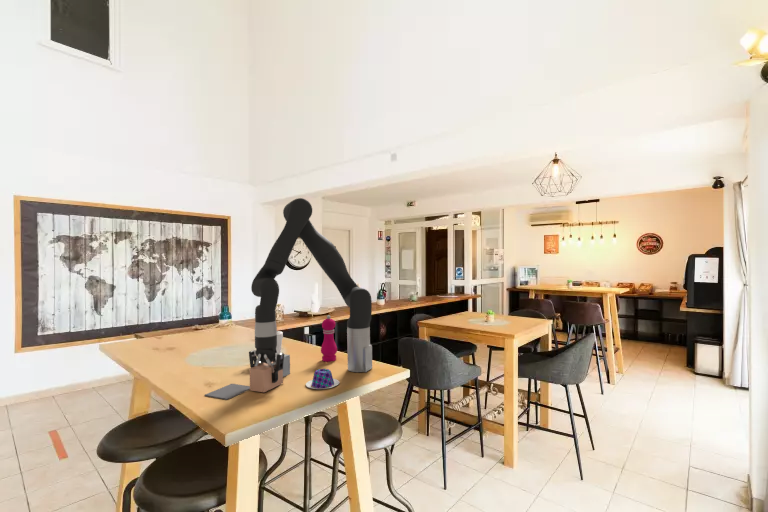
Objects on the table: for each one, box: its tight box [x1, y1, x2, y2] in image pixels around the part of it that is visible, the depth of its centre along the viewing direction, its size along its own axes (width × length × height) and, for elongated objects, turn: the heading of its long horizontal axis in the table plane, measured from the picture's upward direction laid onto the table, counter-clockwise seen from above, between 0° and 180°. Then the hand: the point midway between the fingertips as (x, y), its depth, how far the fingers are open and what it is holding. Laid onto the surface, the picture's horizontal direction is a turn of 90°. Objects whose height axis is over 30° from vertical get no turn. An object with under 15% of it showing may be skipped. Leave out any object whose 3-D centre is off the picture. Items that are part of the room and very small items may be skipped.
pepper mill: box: [320, 314, 338, 363], centre depth 169 cm, size 7×7×20 cm
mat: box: [204, 383, 251, 401], centre depth 130 cm, size 10×12×1 cm
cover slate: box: [275, 353, 291, 378], centre depth 146 cm, size 6×10×8 cm, turn 157°
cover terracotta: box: [249, 362, 284, 393], centre depth 134 cm, size 6×10×8 cm, turn 157°
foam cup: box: [276, 330, 284, 353], centre depth 165 cm, size 10×9×13 cm
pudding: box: [305, 368, 340, 390], centre depth 136 cm, size 12×12×5 cm
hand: (266, 381), depth 134 cm, fingers closed on cover terracotta, 6 cm apart
